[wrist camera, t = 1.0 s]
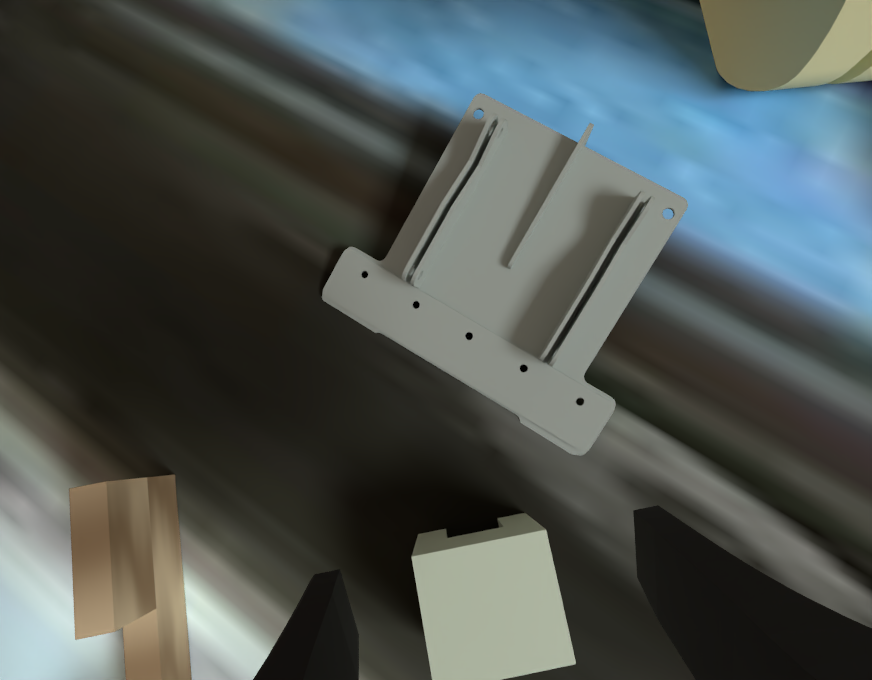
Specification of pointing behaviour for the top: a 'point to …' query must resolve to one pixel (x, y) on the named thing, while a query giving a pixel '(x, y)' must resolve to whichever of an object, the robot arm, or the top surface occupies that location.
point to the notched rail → (131, 573)
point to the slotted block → (491, 602)
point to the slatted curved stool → (790, 42)
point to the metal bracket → (515, 268)
